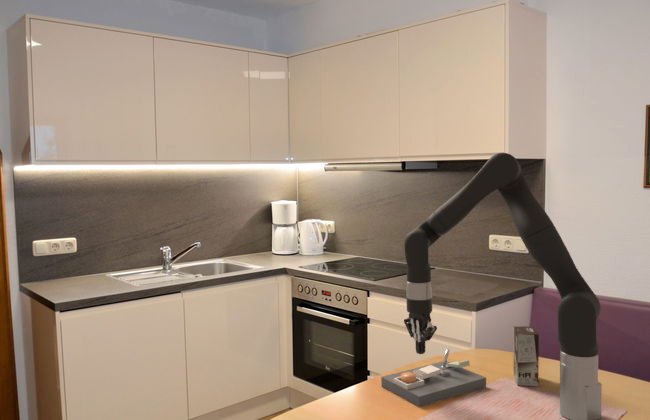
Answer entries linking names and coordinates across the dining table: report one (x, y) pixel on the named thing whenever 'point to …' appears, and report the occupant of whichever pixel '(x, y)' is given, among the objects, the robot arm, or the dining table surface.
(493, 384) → the dining table surface
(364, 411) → the dining table surface
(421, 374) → the rocker switch
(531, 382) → the coffee box
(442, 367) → the toggle lever
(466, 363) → the paddle switch
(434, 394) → the control panel
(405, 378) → the push button
